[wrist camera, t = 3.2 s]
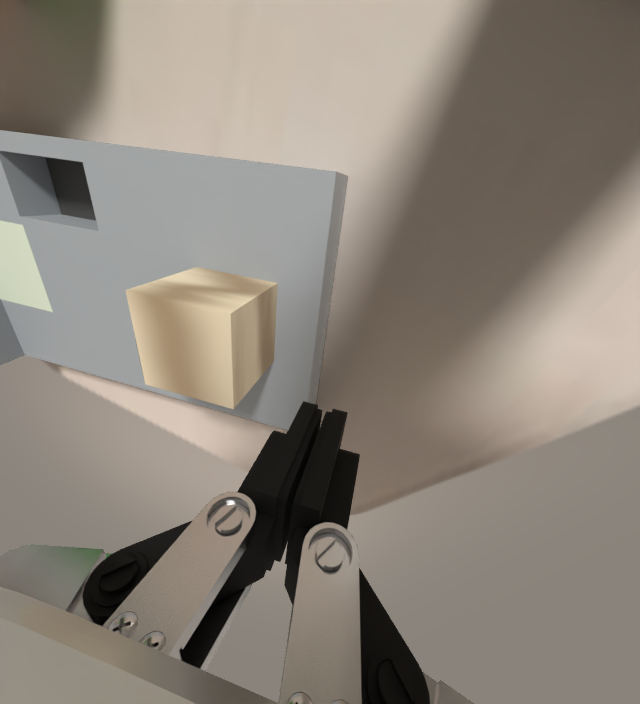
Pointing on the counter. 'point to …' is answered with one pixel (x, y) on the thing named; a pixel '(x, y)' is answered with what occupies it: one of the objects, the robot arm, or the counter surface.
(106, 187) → the board
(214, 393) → the maple block
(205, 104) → the counter surface
